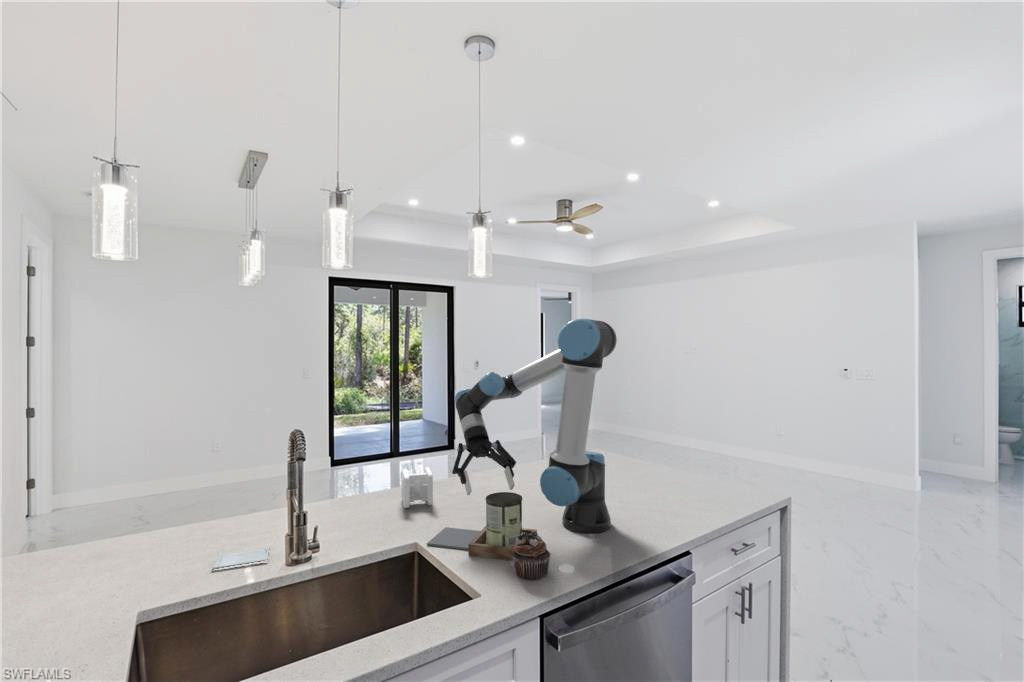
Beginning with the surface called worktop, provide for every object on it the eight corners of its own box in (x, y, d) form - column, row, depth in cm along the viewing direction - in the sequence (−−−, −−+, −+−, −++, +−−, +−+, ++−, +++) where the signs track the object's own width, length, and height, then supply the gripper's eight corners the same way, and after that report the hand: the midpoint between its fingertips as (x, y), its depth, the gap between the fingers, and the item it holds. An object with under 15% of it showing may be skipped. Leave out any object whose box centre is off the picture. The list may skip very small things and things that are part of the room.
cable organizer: (433, 508, 169) (433, 475, 169) (402, 511, 166) (402, 477, 167) (428, 496, 184) (428, 465, 184) (400, 498, 181) (400, 467, 181)
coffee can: (499, 537, 143) (499, 489, 143) (529, 545, 137) (529, 495, 137) (478, 550, 134) (478, 498, 134) (509, 558, 128) (509, 505, 129)
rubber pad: (485, 533, 146) (485, 531, 146) (469, 550, 134) (469, 548, 134) (445, 529, 150) (445, 527, 150) (427, 545, 137) (427, 543, 137)
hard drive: (270, 547, 134) (217, 554, 129) (267, 559, 126) (212, 567, 121) (269, 553, 134) (217, 560, 129) (267, 565, 126) (212, 573, 121)
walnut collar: (536, 540, 141) (536, 529, 141) (523, 562, 126) (523, 550, 126) (487, 534, 145) (486, 524, 145) (468, 555, 130) (468, 544, 130)
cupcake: (548, 583, 114) (548, 541, 115) (508, 580, 116) (508, 538, 116) (552, 566, 124) (552, 526, 124) (515, 563, 126) (515, 524, 126)
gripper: (506, 435, 164) (525, 491, 150) (434, 441, 154) (448, 501, 140) (513, 421, 159) (533, 478, 145) (439, 426, 149) (453, 488, 135)
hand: (491, 490), depth 143 cm, fingers open, 13 cm apart
